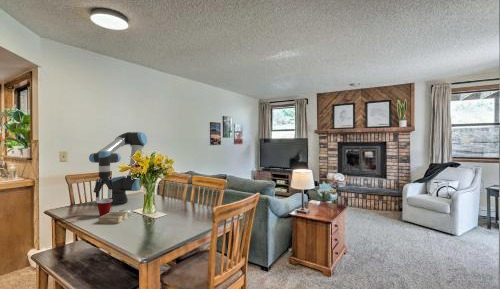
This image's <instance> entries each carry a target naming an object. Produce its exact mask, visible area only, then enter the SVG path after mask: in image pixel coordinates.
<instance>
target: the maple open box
mask: <svg viewBox="0 0 500 289" xmlns="http://www.w3.org/2000/svg"><path fill="white" fill-rule="evenodd" d="M127 219H130V216H129V212H119V211H109V213H108V214H105V215H103V216H101V217H100V216H99V217H98V218H97V220H98V224H101V225H104V224H107V225H110V224H111V225H114V224H115V225H119V224H120V223H123V222H125V221H126V220H127Z"/></svg>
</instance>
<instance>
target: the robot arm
mask: <svg viewBox="0 0 500 289" xmlns="http://www.w3.org/2000/svg"><path fill="white" fill-rule="evenodd" d="M147 144H148V138H147V134H146V133H145V132H142V131H135V132H134V131H132V132H131V131H128V132H125V133H122V134H119V135H118V136H117V137H115V138H114V140H113V141H112V142H110V143H109V144H107V145H106V146H104V147H103V148H102V149H100V150H99V151H98V152H91V153H90V154H89V155H88V159H89V162H91V163H93V164H94V163H95V164H96V163H98V177H99V178H97V179H96V183H95V185H94V186H95V187H94V188H93V193H94V194H95V203H96V202H100V199H101V190H102V188H103V186H104V185H106V187H107V199H112V200H113V201H112V203H111V205H121V204H125V203H128V200H129V199H128V196H127V193H126V192H137V191H140V190H141V189H142V187H139V179H133V180H131V173H130V171H129V170H128V174H127V175H126V176H125V175H122V176H121V175H120V176H115V177H112V176H111V164H116V163H118V162H120V161H121V160H122V157H121V154H120V153H117V152H115V151H117V150H118V149H120V148H121V147H122V148H123V147H124V146H126V145H128V146H130V148H131V152H130V159H129V160H130V162H129V166H130V165H132V164H134V163H135V161H134V160H133V159H132V158H131V156H133V155H134V154H135V152H136V151H137V150H139V151H140V152H141V153H142V152H143V151H142V150H143V149H144V147H145V146H146V145H147Z"/></svg>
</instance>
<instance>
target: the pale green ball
mask: <svg viewBox="0 0 500 289" xmlns="http://www.w3.org/2000/svg"><path fill="white" fill-rule="evenodd" d="M118 212H129V217H130V216H132V209H130V208H125V209H121V210H119V211H118Z"/></svg>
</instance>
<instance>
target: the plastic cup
mask: <svg viewBox="0 0 500 289" xmlns="http://www.w3.org/2000/svg"><path fill="white" fill-rule="evenodd" d="M112 201H113V200H112V199H110V198H100V202H96V201H95V203H96V205H97V209H98V213H99V217H101V216H103V215H105V214H108V213H110V212H111V206H112V204H111V203H112Z"/></svg>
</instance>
